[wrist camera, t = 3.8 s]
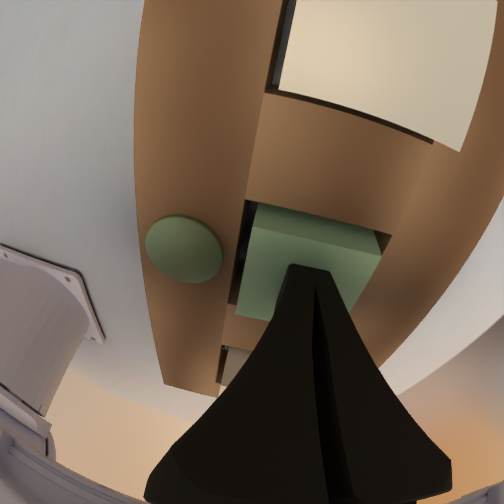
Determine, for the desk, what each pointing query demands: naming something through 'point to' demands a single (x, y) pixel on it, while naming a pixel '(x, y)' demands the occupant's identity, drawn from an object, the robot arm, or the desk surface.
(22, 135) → the desk surface
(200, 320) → the brown wooden slotted board
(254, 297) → the sage button
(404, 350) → the desk surface
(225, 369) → the cream button
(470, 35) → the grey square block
